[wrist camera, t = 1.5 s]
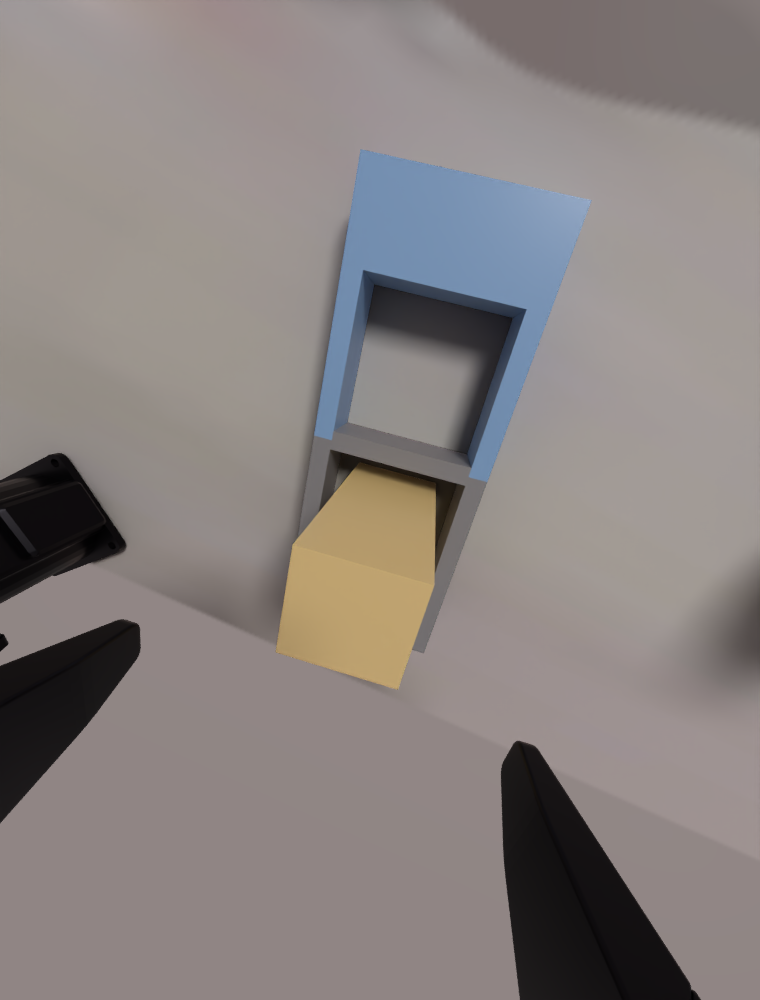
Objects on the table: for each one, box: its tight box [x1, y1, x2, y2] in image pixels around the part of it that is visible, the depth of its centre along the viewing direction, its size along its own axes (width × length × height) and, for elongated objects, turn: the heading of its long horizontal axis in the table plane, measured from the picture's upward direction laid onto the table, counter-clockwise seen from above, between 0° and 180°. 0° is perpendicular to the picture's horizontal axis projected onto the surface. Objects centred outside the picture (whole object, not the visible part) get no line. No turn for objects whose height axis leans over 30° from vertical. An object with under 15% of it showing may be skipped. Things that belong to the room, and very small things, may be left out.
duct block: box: [297, 150, 592, 653], centre depth 16 cm, size 19×8×2 cm, turn 167°
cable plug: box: [276, 462, 436, 690], centre depth 15 cm, size 4×4×9 cm
